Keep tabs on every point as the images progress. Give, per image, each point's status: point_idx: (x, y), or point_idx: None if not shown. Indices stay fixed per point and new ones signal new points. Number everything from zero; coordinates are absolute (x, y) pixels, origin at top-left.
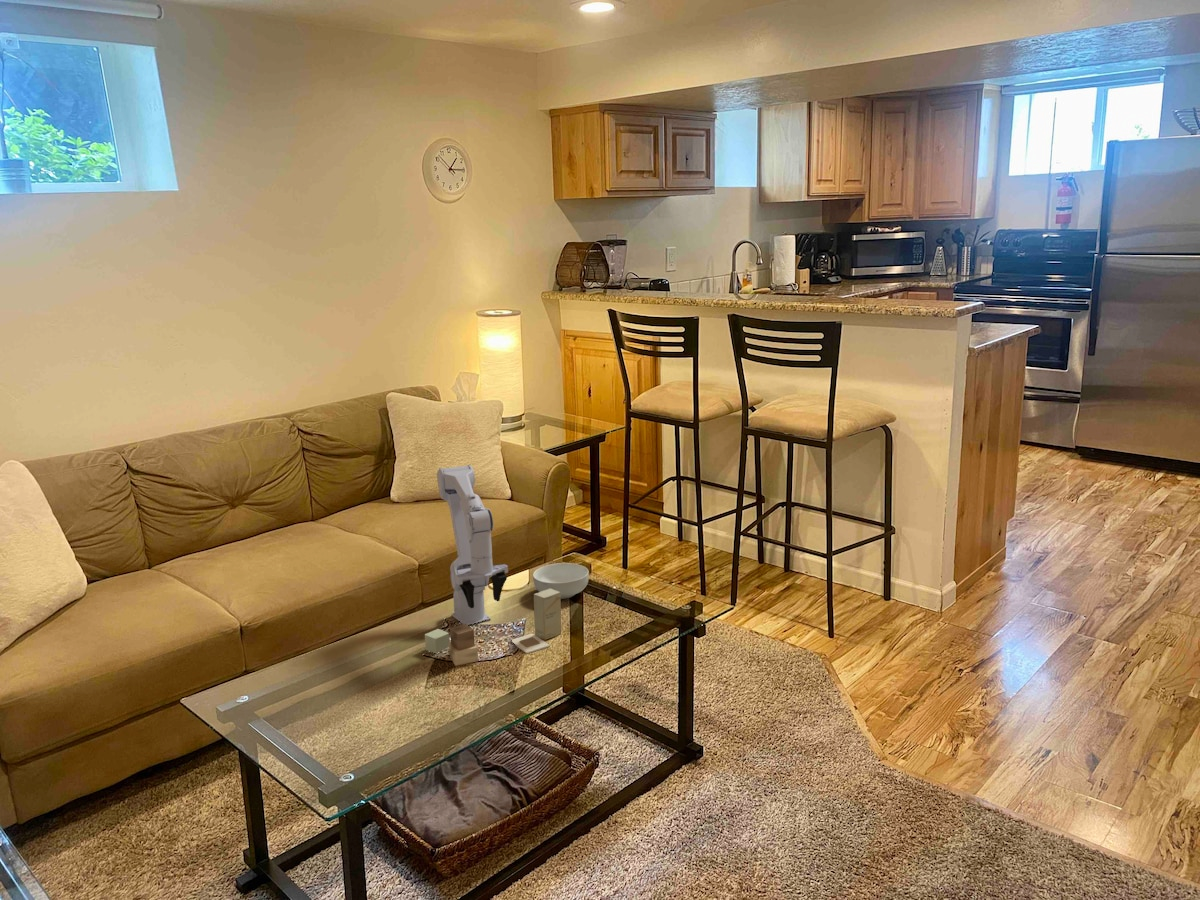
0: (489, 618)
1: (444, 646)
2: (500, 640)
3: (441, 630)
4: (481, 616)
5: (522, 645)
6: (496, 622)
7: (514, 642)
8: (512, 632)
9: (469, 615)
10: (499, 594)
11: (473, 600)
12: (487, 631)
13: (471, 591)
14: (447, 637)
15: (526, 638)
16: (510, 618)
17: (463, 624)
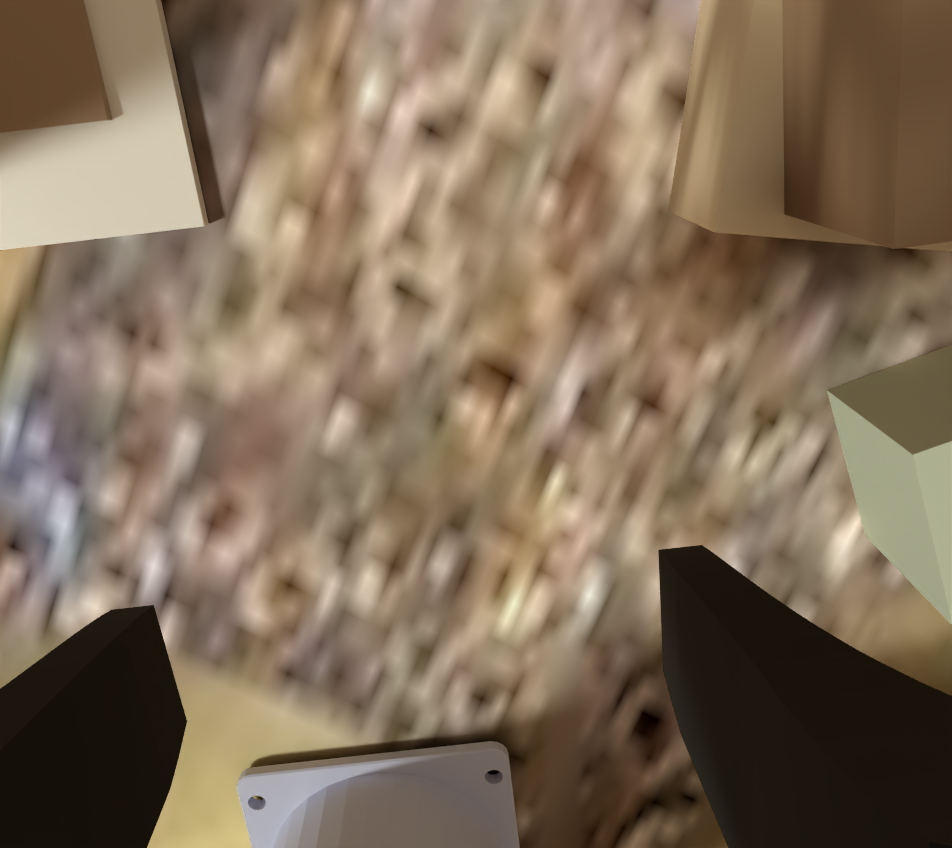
0: (251, 774)
1: (921, 380)
2: (297, 307)
3: (946, 565)
4: (323, 809)
5: (102, 4)
6: (207, 697)
7: (171, 138)
8: (118, 424)
9: (447, 838)
10: (44, 672)
11: (720, 609)
12: (351, 564)
13: (917, 738)
14: (916, 429)
15: (6, 166)
16: None
17: (939, 239)
